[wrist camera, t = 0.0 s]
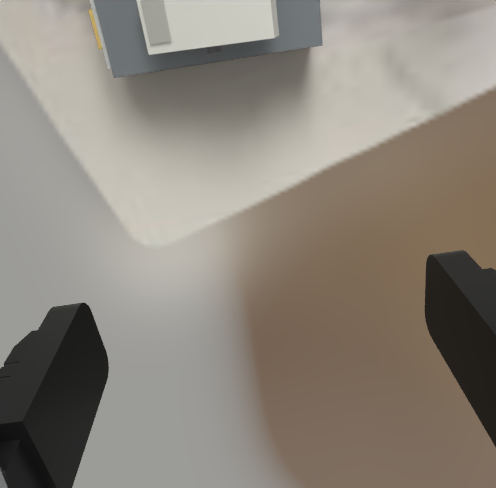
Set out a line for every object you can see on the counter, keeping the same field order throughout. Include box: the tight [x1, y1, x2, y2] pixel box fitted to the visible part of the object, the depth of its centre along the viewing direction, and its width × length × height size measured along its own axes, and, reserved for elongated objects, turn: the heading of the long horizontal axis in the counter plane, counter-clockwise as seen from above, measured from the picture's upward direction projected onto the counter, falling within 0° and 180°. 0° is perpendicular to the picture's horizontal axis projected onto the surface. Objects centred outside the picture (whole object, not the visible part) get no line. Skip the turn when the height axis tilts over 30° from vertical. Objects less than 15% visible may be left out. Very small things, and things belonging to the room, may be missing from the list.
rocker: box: [136, 0, 279, 55], centre depth 28 cm, size 4×8×2 cm, turn 98°
